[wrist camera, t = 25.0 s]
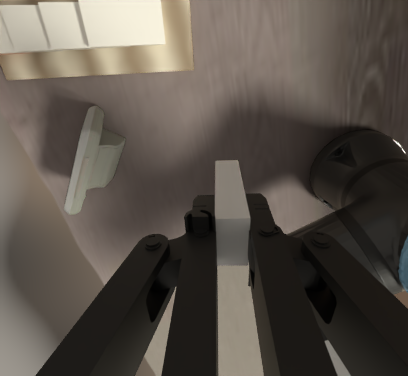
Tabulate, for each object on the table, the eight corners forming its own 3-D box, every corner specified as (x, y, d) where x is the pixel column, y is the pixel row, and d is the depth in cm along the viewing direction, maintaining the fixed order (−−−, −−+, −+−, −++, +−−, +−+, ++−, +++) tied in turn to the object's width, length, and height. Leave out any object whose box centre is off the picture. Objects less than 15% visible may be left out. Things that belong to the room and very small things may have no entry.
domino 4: (160, -1, 31) (77, -1, 29) (165, 43, 33) (89, 47, 31) (159, 1, 32) (80, 2, 30) (163, 44, 35) (91, 47, 32)
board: (187, -33, 31) (186, -35, 30) (194, 69, 37) (193, 70, 36) (-26, -15, 33) (-33, -17, 32) (11, 79, 39) (6, 80, 38)
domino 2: (84, 4, 31) (-2, 5, 29) (95, 48, 34) (15, 51, 32) (86, 7, 33) (4, 7, 31) (96, 48, 35) (20, 52, 33)
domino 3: (122, 1, 31) (37, 2, 29) (129, 46, 33) (52, 49, 31) (122, 4, 32) (41, 4, 30) (129, 46, 35) (55, 50, 33)
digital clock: (96, 98, 40) (59, 110, 30) (143, 131, 42) (122, 151, 33) (61, 168, 46) (22, 195, 37) (103, 193, 48) (76, 225, 39)
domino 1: (48, 7, 32) (-40, 8, 30) (60, 50, 34) (-20, 53, 32) (51, 9, 33) (-32, 10, 31) (63, 51, 35) (-14, 54, 33)
